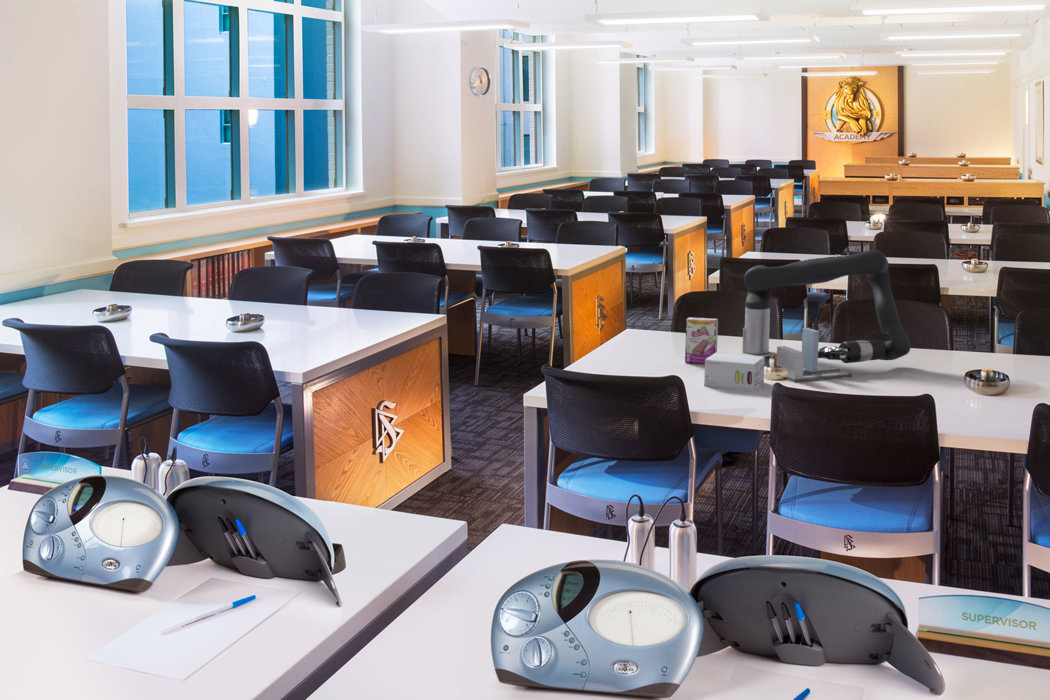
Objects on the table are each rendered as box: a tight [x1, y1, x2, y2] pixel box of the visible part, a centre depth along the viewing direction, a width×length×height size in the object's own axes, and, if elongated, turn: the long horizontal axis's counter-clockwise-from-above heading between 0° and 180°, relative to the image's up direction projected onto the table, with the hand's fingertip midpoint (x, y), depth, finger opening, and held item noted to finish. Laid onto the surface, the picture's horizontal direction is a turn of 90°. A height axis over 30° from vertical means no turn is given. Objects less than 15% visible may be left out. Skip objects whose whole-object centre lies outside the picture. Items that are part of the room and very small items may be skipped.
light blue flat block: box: [801, 327, 821, 375], centre depth 348 cm, size 2×10×14 cm, turn 17°
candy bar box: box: [684, 316, 719, 365], centre depth 373 cm, size 11×5×16 cm, turn 71°
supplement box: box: [703, 351, 766, 392], centre depth 340 cm, size 17×13×9 cm
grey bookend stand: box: [776, 345, 853, 383], centre depth 350 cm, size 22×12×10 cm, turn 107°
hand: (812, 355), depth 351 cm, fingers closed
